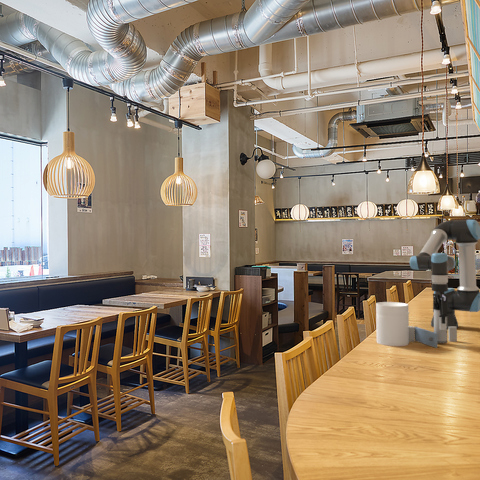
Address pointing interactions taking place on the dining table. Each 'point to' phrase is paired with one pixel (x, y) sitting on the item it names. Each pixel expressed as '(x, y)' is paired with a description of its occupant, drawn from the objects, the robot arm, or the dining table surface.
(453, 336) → the wall stub
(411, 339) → the door post
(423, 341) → the door
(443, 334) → the travel mug
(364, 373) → the dining table surface
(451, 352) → the dining table surface
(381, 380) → the dining table surface
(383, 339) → the canister
